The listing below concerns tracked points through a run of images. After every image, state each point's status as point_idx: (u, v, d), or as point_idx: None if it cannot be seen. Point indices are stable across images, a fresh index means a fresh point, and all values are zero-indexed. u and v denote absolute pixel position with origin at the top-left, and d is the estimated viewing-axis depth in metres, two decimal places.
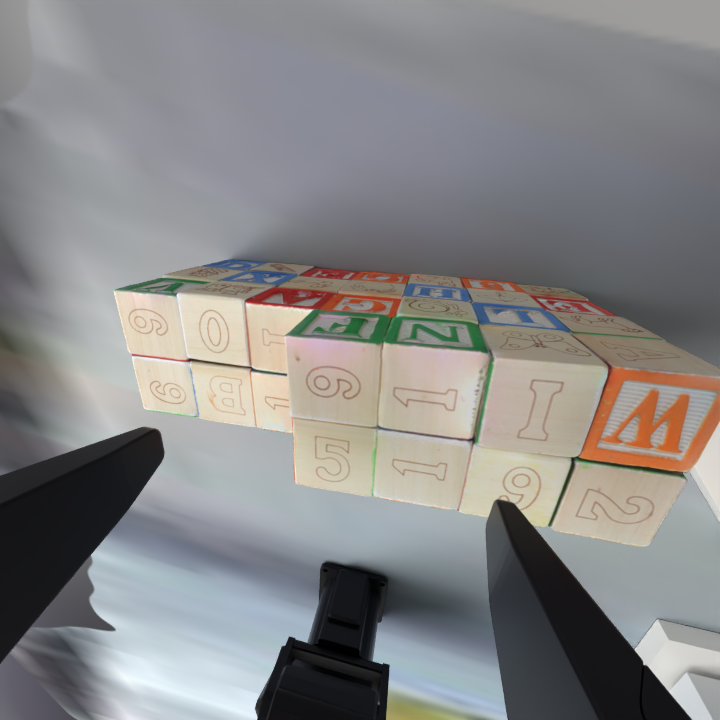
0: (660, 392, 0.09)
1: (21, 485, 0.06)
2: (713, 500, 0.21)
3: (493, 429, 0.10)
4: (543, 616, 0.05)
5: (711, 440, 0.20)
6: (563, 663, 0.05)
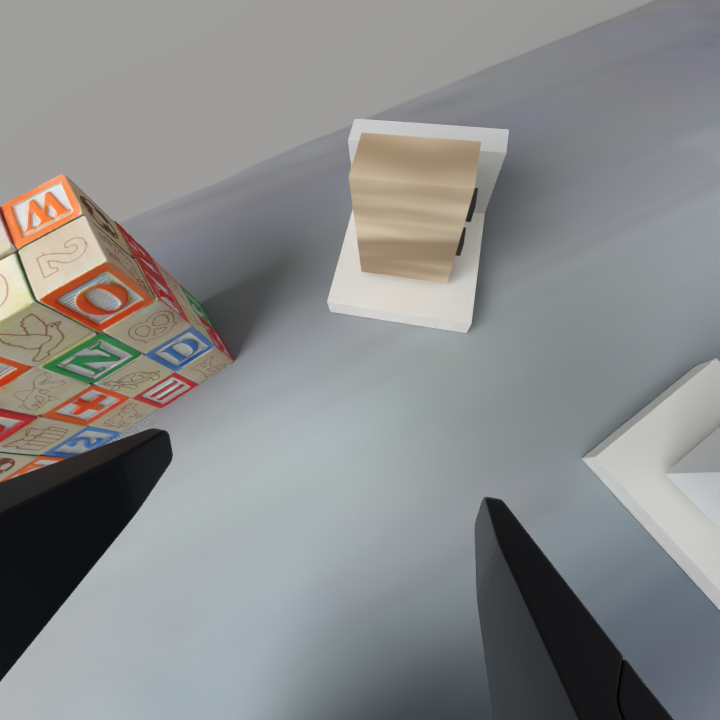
0: (36, 199, 0.15)
1: (32, 488, 0.06)
2: (404, 313, 0.23)
3: None
4: (526, 612, 0.05)
5: (345, 286, 0.24)
6: (544, 658, 0.05)
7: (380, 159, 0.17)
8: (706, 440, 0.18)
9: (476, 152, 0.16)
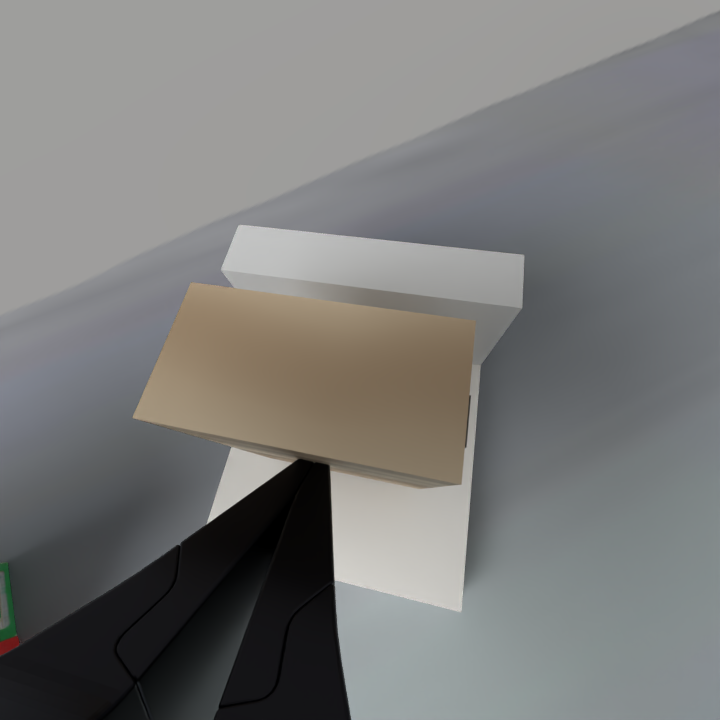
0: None
1: (235, 538, 0.06)
2: (336, 579, 0.13)
3: None
4: None
5: None
6: None
7: (221, 364, 0.07)
8: None
9: (464, 355, 0.06)
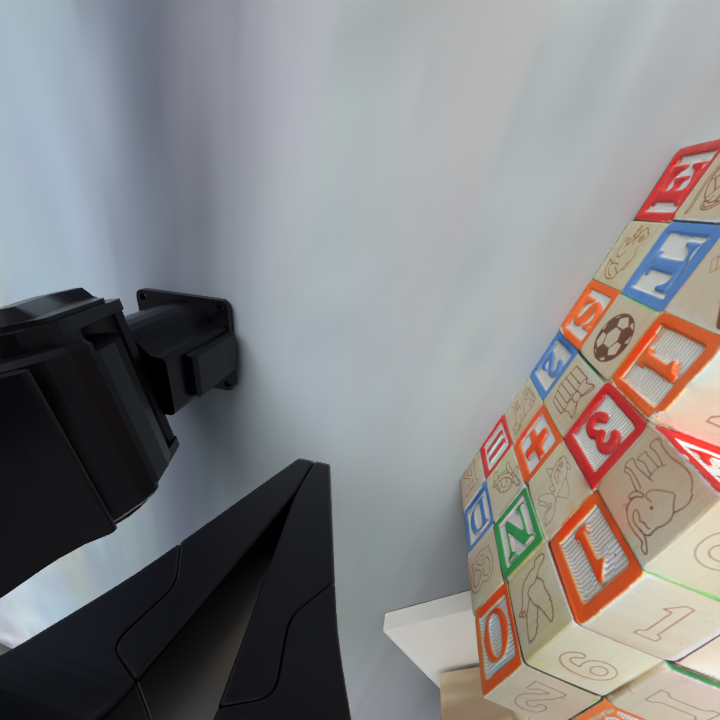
0: None
1: (235, 538, 0.06)
2: (425, 620, 0.29)
3: (683, 683, 0.11)
4: None
5: None
6: None
7: None
8: None
9: None
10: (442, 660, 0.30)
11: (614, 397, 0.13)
